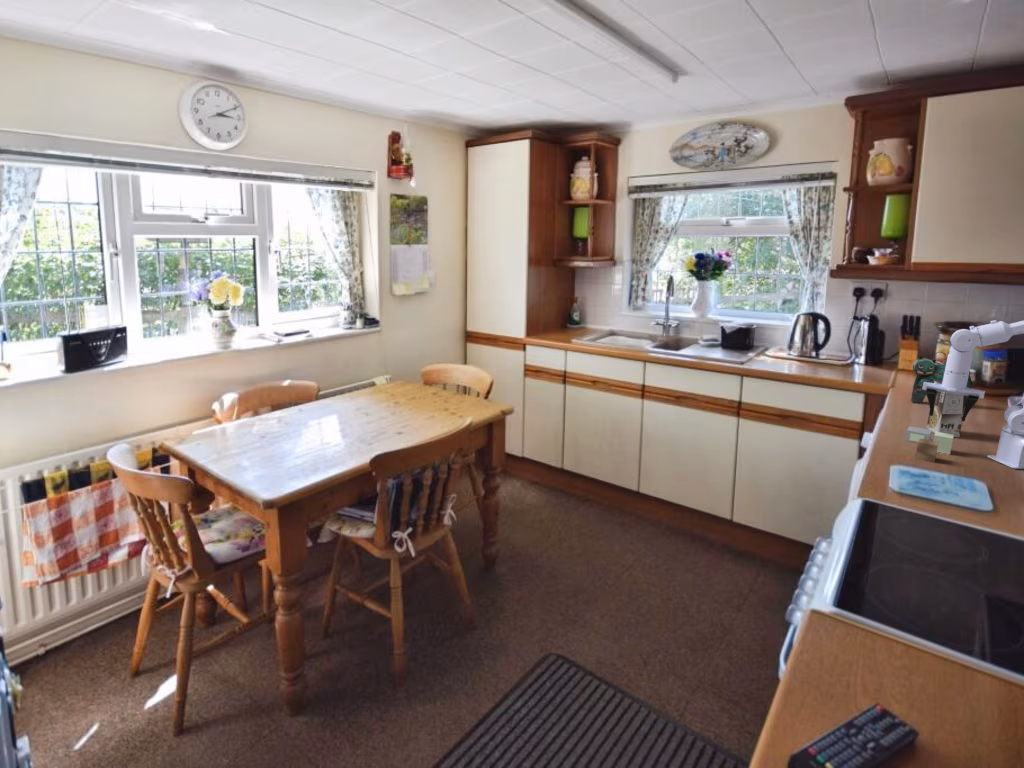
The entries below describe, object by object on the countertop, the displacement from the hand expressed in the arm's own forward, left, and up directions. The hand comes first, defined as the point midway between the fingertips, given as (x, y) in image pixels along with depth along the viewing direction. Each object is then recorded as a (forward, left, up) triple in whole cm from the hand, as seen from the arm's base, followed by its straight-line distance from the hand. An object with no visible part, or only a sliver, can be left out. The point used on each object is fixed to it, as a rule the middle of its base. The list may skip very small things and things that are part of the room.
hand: (947, 417), depth 183 cm
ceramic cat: (+53, -37, -10) cm, 66 cm away
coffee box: (+17, -13, -10) cm, 24 cm away
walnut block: (-7, +9, -10) cm, 15 cm away
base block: (+9, 0, -10) cm, 14 cm away
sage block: (0, 0, -10) cm, 10 cm away
